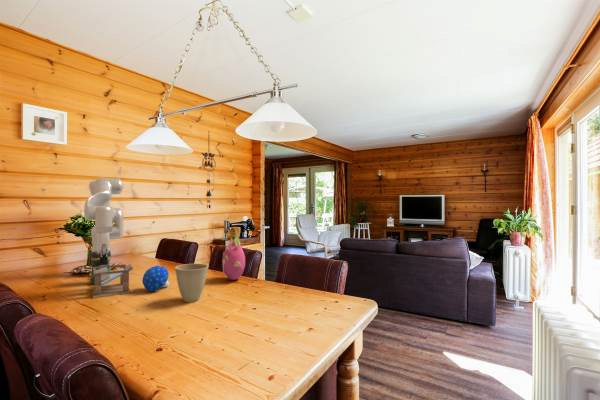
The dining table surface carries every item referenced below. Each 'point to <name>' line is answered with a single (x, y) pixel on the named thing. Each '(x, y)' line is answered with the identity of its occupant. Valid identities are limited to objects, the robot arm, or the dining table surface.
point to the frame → (111, 289)
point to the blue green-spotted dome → (155, 278)
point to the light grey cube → (105, 274)
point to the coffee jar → (98, 263)
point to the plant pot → (191, 280)
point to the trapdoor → (116, 275)
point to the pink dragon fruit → (233, 259)
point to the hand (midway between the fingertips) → (103, 263)
